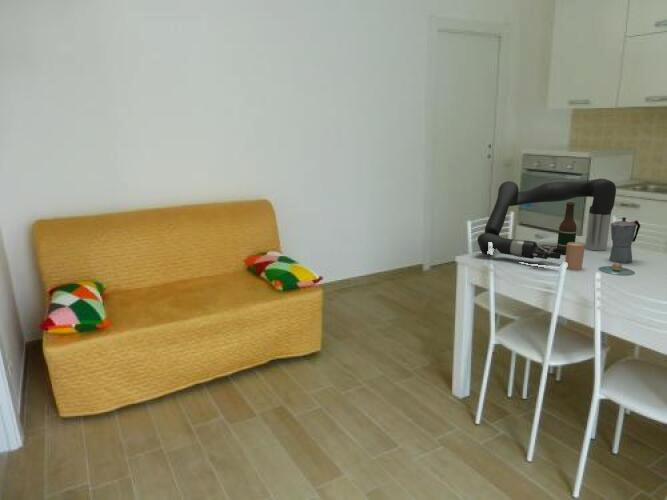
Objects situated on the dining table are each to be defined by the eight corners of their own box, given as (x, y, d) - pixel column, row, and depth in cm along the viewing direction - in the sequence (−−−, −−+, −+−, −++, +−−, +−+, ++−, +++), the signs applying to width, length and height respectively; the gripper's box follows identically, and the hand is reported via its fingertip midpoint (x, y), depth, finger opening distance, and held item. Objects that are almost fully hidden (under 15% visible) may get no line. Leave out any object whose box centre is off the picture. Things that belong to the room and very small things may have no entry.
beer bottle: (570, 251, 232) (576, 201, 226) (576, 256, 224) (583, 204, 218) (553, 251, 233) (558, 201, 226) (559, 255, 225) (564, 203, 219)
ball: (610, 269, 202) (611, 261, 201) (620, 269, 200) (621, 261, 200) (612, 271, 198) (613, 263, 198) (622, 272, 197) (623, 264, 197)
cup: (563, 266, 208) (566, 241, 206) (580, 268, 206) (583, 242, 204) (565, 271, 202) (568, 245, 200) (582, 272, 201) (585, 246, 198)
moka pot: (597, 261, 216) (603, 216, 210) (623, 257, 221) (630, 213, 216) (616, 267, 207) (623, 220, 202) (643, 263, 212) (650, 217, 207)
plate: (595, 266, 208) (595, 265, 207) (630, 269, 204) (630, 267, 203) (601, 276, 196) (601, 274, 195) (638, 278, 192) (638, 276, 192)
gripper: (527, 253, 221) (566, 258, 212) (517, 260, 210) (557, 266, 201) (529, 237, 219) (568, 242, 210) (518, 243, 209) (559, 249, 199)
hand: (562, 254), depth 205 cm, fingers open, 8 cm apart
